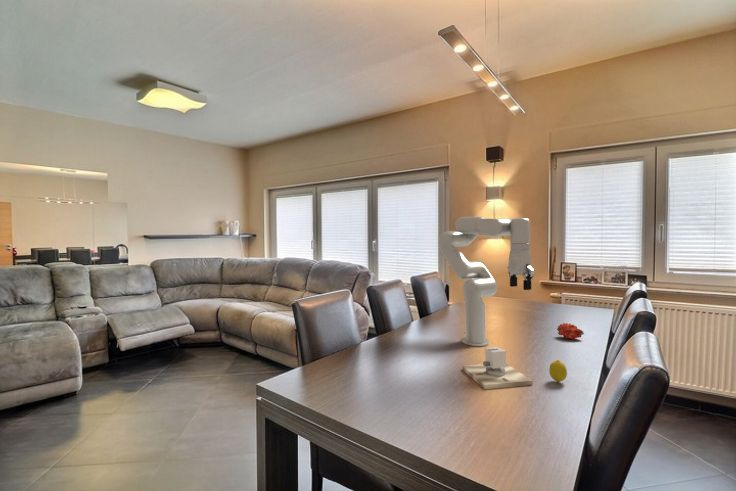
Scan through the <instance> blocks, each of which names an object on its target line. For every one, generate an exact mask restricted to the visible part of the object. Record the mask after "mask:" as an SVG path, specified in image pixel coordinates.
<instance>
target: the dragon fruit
mask: <svg viewBox="0 0 736 491" xmlns="http://www.w3.org/2000/svg"><path fill="white" fill-rule="evenodd" d="M556 330H557V332H558V333H557V335H559V336H562V337H563V339H565V340H567V339H569V340H573V341H579V339H578V338H582V336H583V335H585V332H584V331H583V330H582V329H580V328H578V327H577V326H576V325H575V324H574V323H573V324H571V323H568V322H562V323H560V325H558V326H557V328H556Z"/></svg>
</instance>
